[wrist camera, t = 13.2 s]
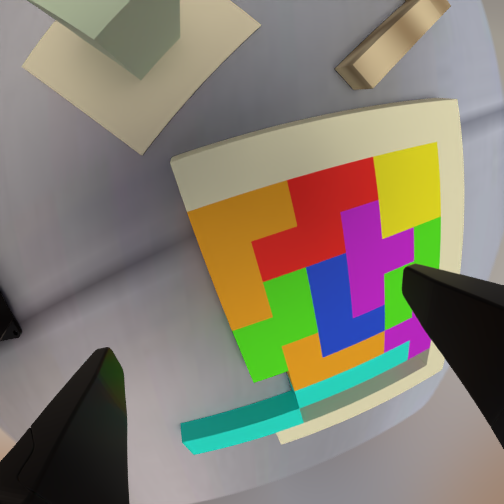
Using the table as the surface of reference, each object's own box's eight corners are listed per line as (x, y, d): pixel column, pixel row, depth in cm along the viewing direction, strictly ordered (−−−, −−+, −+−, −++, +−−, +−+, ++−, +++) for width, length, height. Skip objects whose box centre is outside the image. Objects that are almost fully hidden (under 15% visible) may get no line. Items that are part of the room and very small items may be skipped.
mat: (142, 154, 18) (141, 155, 18) (24, 67, 13) (21, 66, 13) (259, 26, 16) (261, 25, 16) (136, -56, 11) (135, -58, 11)
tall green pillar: (141, 80, 16) (94, 39, 6) (83, 40, 14) (2, -16, 4) (180, 37, 15) (179, -43, 6) (122, -2, 13) (77, -90, 4)
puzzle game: (432, 97, 20) (53, 205, 18) (457, 99, 18) (36, 219, 16) (429, 355, 34) (201, 444, 32) (442, 369, 31) (204, 465, 29)
